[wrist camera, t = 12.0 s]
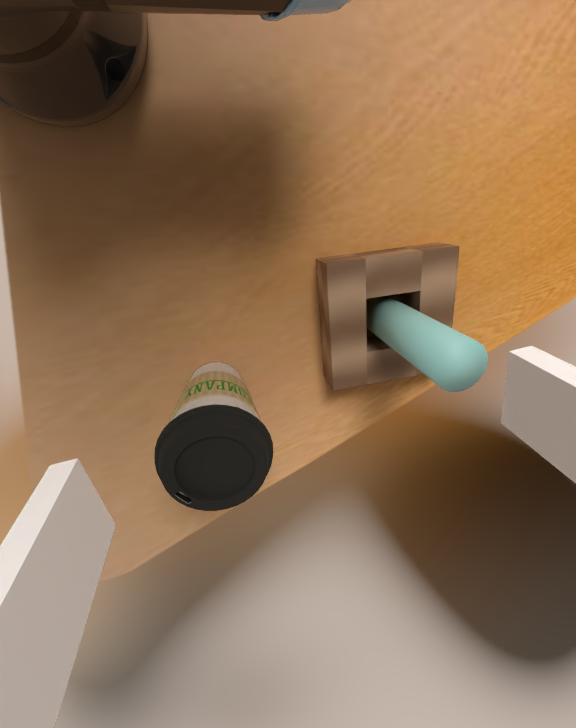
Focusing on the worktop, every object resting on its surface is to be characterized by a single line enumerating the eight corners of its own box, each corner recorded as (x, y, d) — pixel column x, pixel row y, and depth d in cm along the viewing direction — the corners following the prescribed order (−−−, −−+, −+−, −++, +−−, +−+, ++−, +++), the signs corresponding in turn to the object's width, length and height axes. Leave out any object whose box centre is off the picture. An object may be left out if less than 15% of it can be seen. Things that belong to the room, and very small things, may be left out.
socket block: (316, 258, 39) (326, 263, 35) (437, 242, 40) (459, 246, 37) (323, 375, 44) (333, 390, 41) (430, 357, 46) (448, 370, 42)
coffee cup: (274, 385, 44) (300, 464, 30) (217, 436, 45) (216, 534, 31) (215, 329, 40) (213, 392, 26) (154, 387, 41) (122, 476, 27)
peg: (359, 296, 41) (437, 344, 27) (396, 291, 42) (491, 335, 27) (360, 333, 43) (433, 396, 28) (395, 327, 43) (484, 386, 29)
